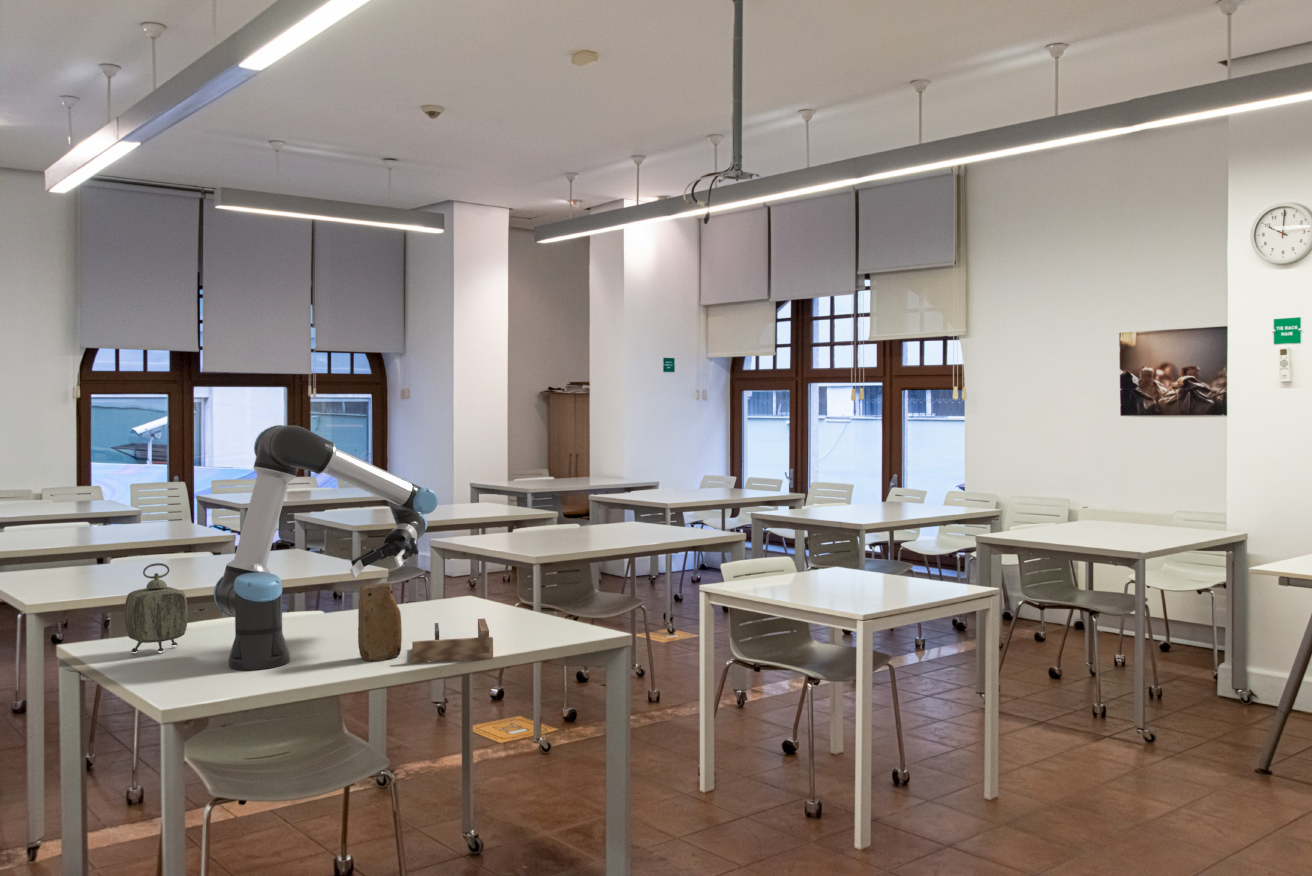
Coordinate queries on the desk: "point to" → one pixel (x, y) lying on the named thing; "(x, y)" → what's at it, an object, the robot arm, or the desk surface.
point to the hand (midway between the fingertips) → (374, 568)
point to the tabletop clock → (156, 612)
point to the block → (378, 623)
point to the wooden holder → (454, 647)
